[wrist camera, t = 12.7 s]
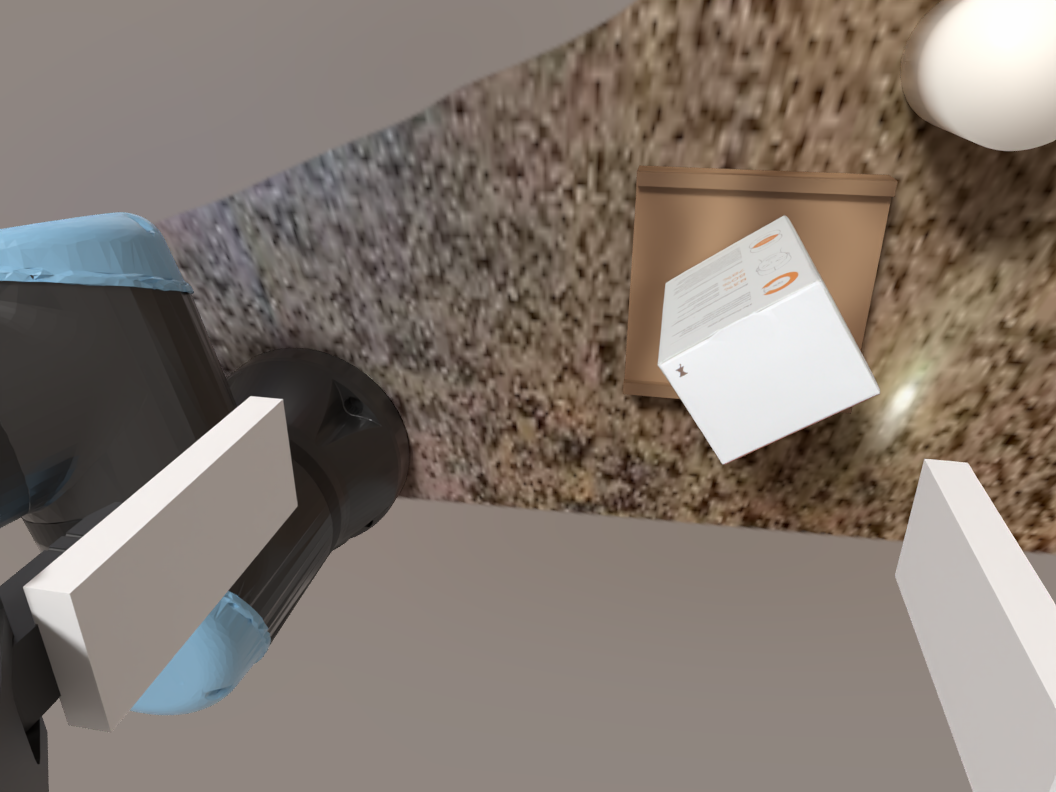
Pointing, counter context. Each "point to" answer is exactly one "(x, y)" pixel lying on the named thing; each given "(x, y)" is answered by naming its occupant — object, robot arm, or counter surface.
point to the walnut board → (732, 214)
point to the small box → (759, 344)
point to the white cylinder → (985, 71)
